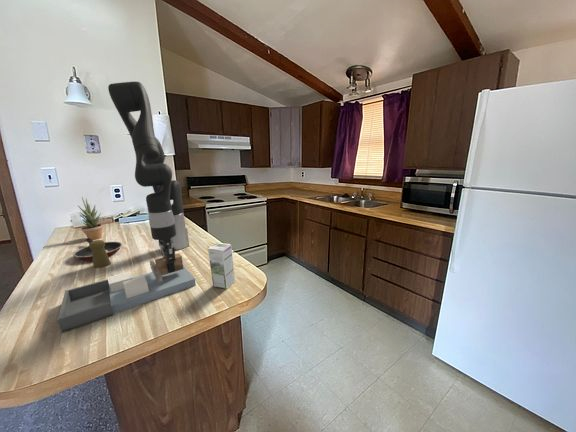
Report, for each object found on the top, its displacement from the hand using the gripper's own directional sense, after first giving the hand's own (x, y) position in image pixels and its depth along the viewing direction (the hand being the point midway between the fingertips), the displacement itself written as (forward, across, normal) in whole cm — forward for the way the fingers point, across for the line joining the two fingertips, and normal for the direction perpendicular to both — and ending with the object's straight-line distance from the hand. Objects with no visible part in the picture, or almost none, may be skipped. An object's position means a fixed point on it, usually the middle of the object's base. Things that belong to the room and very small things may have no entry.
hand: (170, 269), depth 86 cm
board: (+5, 0, +6) cm, 8 cm away
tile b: (+2, +4, +15) cm, 15 cm away
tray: (+5, 0, +24) cm, 24 cm away
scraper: (0, 0, 0) cm, 0 cm away
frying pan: (+5, +58, +22) cm, 63 cm away
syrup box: (+5, -14, -14) cm, 20 cm away
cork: (+5, +36, +20) cm, 42 cm away
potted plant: (+5, +84, +23) cm, 87 cm away
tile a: (+2, -3, +11) cm, 12 cm away
